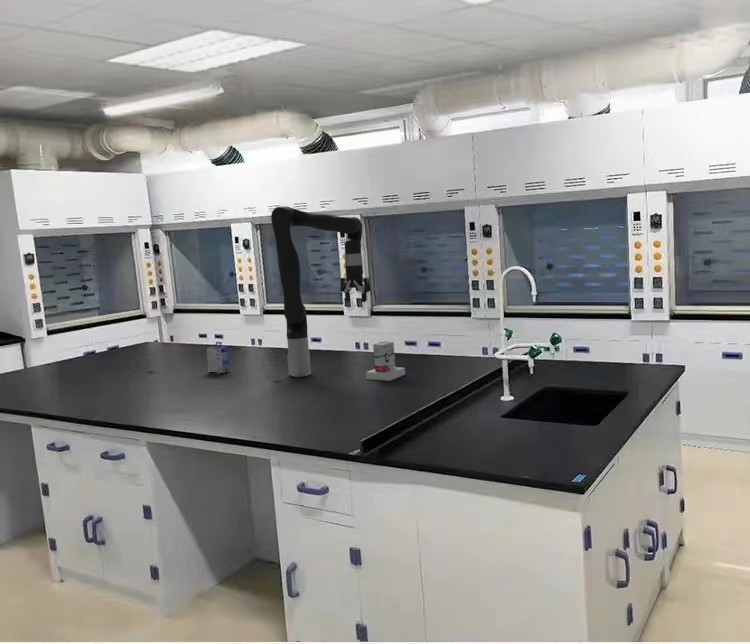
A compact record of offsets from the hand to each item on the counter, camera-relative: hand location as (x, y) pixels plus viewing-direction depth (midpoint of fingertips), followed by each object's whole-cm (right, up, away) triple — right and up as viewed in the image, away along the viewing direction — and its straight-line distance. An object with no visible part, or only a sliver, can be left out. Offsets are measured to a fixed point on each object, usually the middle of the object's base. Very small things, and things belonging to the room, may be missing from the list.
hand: (356, 301), depth 316 cm
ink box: (+13, -29, -3) cm, 32 cm away
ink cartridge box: (-66, -33, +35) cm, 82 cm away
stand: (+13, -32, -3) cm, 35 cm away
